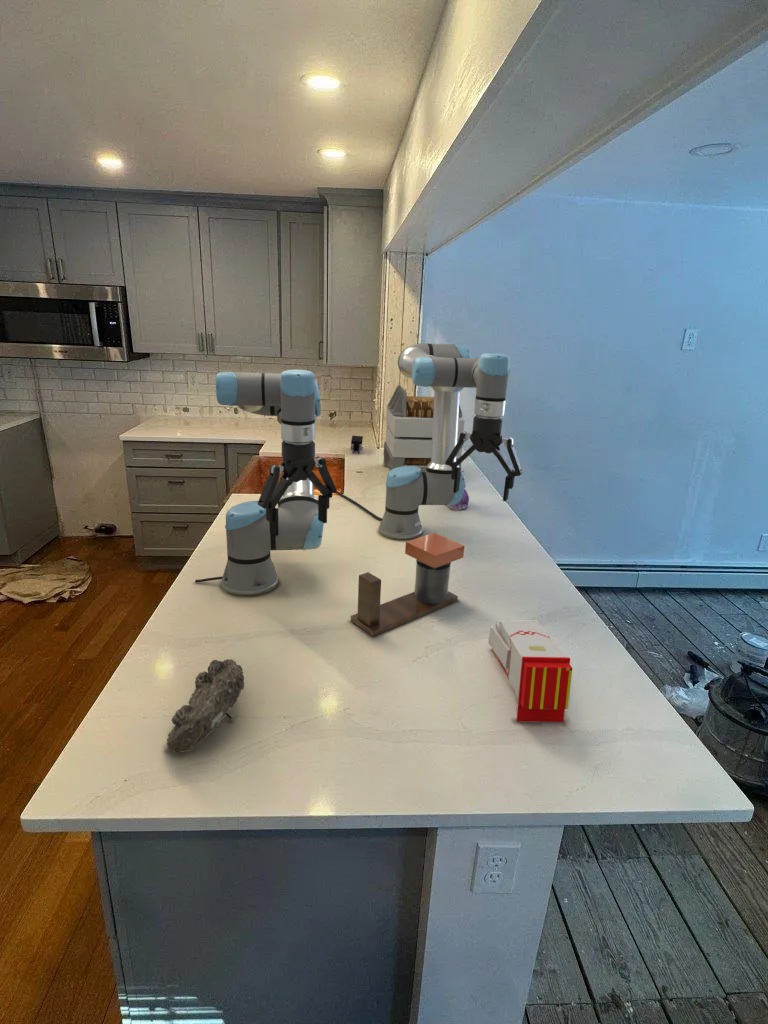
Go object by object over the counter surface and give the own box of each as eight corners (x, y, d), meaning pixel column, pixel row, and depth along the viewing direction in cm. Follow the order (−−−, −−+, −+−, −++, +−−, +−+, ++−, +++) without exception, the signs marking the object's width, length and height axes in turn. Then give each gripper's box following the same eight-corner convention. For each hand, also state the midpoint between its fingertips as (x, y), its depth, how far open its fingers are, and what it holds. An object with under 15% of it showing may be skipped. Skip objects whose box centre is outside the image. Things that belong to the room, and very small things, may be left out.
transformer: (382, 463, 289) (386, 382, 275) (445, 464, 293) (451, 384, 279) (390, 482, 257) (394, 392, 243) (460, 483, 261) (468, 394, 247)
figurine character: (362, 457, 305) (363, 447, 318) (362, 443, 301) (363, 434, 315) (350, 456, 304) (351, 447, 318) (350, 443, 301) (351, 434, 314)
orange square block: (433, 573, 144) (435, 555, 142) (404, 559, 151) (405, 541, 150) (462, 563, 150) (464, 545, 149) (433, 549, 158) (434, 532, 156)
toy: (535, 605, 135) (581, 664, 106) (530, 657, 138) (574, 728, 108) (484, 604, 135) (517, 662, 105) (480, 656, 137) (511, 727, 108)
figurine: (455, 512, 224) (459, 475, 218) (441, 504, 232) (444, 468, 227) (475, 509, 228) (478, 473, 223) (460, 501, 236) (463, 466, 231)
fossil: (192, 660, 117) (244, 628, 112) (224, 691, 120) (276, 661, 115) (142, 746, 98) (202, 712, 93) (182, 779, 101) (242, 748, 96)
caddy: (373, 636, 137) (375, 586, 132) (350, 621, 143) (351, 572, 139) (457, 601, 156) (461, 556, 151) (434, 588, 162) (437, 545, 157)
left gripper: (257, 452, 118) (260, 545, 125) (352, 437, 133) (350, 521, 141) (239, 444, 123) (244, 534, 131) (333, 431, 138) (332, 512, 146)
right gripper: (437, 413, 146) (431, 491, 153) (535, 424, 137) (524, 507, 144) (447, 409, 153) (441, 484, 160) (540, 419, 143) (529, 499, 150)
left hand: (299, 527), depth 136 cm, fingers open, 13 cm apart
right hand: (480, 495), depth 152 cm, fingers open, 13 cm apart
